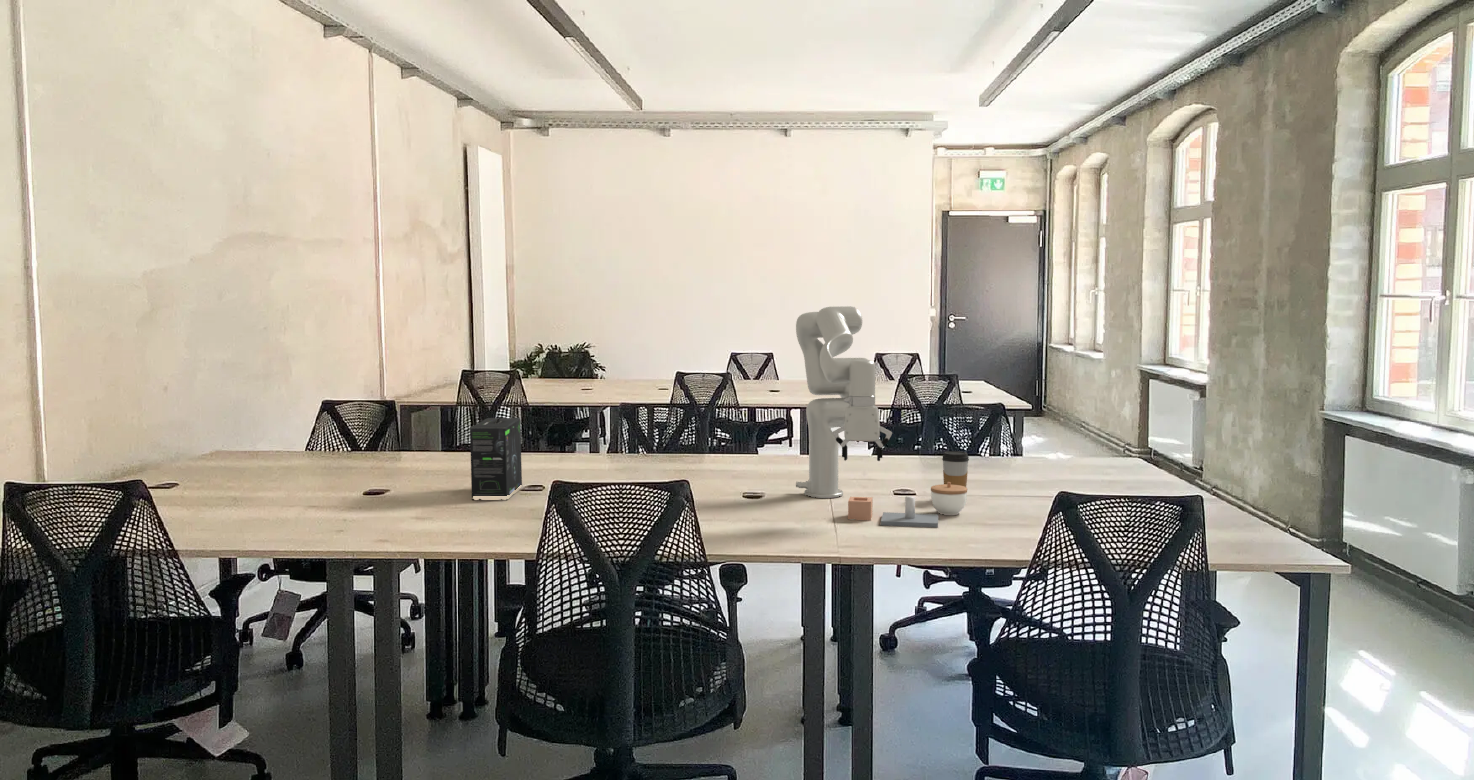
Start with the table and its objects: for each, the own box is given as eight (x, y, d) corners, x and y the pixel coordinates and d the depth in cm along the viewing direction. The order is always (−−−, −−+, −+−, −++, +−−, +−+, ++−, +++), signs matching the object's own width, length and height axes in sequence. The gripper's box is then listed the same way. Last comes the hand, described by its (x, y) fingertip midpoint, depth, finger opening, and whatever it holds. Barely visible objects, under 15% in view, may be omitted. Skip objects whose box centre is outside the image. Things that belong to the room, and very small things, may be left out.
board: (880, 525, 301) (880, 500, 300) (883, 516, 312) (883, 492, 312) (937, 527, 297) (938, 502, 297) (938, 518, 309) (938, 494, 308)
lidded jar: (964, 518, 310) (965, 486, 309) (928, 515, 313) (928, 484, 312) (968, 510, 320) (969, 480, 319) (933, 508, 323) (933, 478, 322)
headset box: (507, 500, 337) (505, 420, 335) (470, 500, 338) (468, 420, 335) (523, 487, 360) (521, 412, 357) (488, 487, 360) (486, 412, 357)
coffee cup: (968, 502, 332) (969, 455, 330) (941, 501, 333) (942, 454, 332) (968, 497, 340) (968, 451, 338) (941, 496, 341) (942, 450, 340)
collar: (848, 519, 308) (848, 501, 308) (850, 514, 314) (850, 496, 314) (870, 520, 307) (871, 501, 306) (872, 515, 313) (872, 497, 313)
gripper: (831, 402, 306) (831, 461, 307) (891, 403, 302) (891, 462, 304) (833, 400, 313) (834, 457, 315) (892, 401, 310) (892, 458, 311)
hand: (862, 460), depth 309 cm, fingers open, 9 cm apart
